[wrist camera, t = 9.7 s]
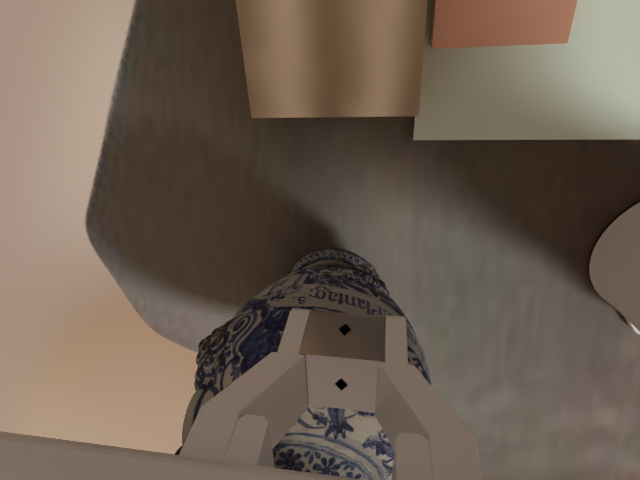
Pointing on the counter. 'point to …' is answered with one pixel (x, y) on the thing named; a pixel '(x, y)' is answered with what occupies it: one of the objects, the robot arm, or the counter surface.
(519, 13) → the tile
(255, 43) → the tan flat block
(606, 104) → the mat
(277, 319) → the decorative vase
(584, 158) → the counter surface
